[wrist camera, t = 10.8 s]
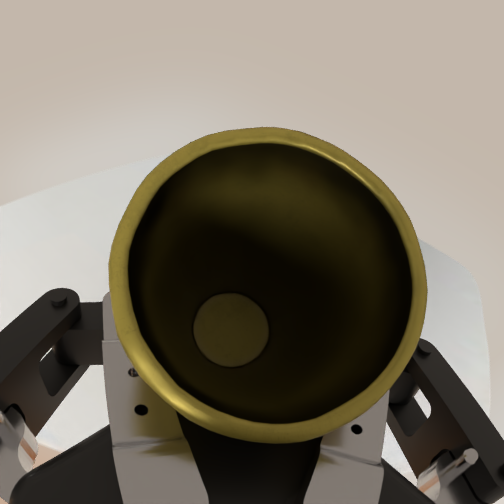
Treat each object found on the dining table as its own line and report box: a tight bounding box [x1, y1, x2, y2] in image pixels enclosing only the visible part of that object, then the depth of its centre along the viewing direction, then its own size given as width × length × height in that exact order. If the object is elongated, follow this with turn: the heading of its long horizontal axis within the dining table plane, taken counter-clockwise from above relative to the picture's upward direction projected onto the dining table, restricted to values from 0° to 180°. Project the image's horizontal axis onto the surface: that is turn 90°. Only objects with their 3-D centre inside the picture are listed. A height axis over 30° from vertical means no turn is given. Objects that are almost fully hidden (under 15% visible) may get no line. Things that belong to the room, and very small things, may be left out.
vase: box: [109, 127, 427, 444], centre depth 11 cm, size 6×6×14 cm
